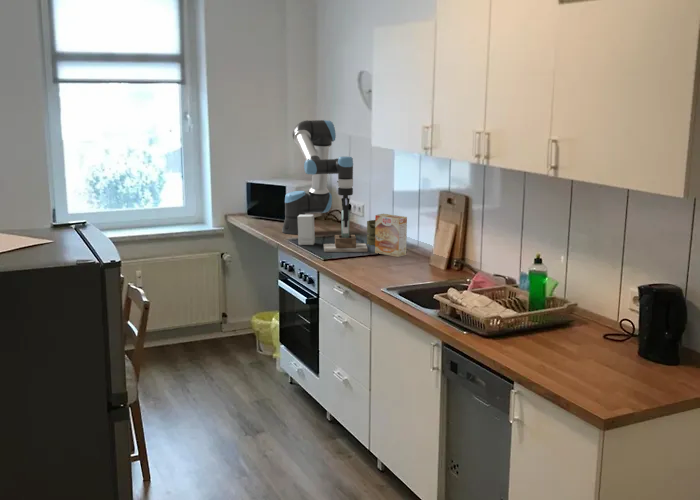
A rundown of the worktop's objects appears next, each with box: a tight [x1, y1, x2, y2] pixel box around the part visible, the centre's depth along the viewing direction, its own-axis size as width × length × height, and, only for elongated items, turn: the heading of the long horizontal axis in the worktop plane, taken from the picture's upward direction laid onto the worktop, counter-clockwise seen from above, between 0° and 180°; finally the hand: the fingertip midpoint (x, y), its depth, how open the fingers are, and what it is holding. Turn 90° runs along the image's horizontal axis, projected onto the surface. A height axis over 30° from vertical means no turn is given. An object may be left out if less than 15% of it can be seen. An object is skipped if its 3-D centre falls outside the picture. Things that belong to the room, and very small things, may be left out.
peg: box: [341, 209, 350, 238], centre depth 390 cm, size 4×4×16 cm
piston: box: [366, 219, 375, 246], centre depth 405 cm, size 11×12×11 cm
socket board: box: [323, 234, 369, 253], centre depth 392 cm, size 14×22×6 cm, turn 94°
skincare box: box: [297, 214, 316, 246], centre depth 404 cm, size 8×7×16 cm
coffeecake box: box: [374, 213, 408, 258], centre depth 380 cm, size 15×7×20 cm, turn 50°
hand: (345, 232), depth 391 cm, fingers closed on peg, 4 cm apart
